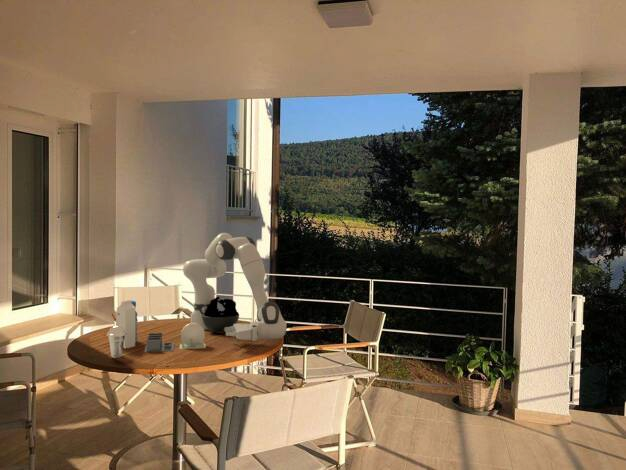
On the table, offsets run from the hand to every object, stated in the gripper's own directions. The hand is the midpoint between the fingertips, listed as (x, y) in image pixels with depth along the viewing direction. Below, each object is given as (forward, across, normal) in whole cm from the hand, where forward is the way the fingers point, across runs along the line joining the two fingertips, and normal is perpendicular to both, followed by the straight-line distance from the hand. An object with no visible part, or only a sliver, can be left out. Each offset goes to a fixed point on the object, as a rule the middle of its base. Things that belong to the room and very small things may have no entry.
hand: (225, 331), depth 254 cm
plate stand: (+15, 0, +8) cm, 17 cm away
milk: (+46, -8, +8) cm, 47 cm away
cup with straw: (+48, +10, +8) cm, 50 cm away
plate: (+15, 0, +6) cm, 16 cm away
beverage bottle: (+46, -19, +8) cm, 50 cm away
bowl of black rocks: (0, -33, +8) cm, 34 cm away
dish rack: (+30, 0, +8) cm, 31 cm away
